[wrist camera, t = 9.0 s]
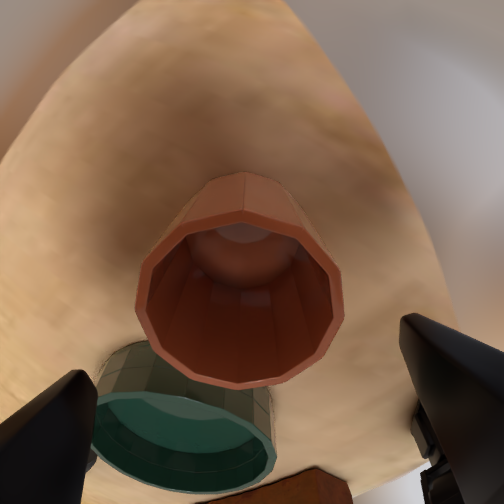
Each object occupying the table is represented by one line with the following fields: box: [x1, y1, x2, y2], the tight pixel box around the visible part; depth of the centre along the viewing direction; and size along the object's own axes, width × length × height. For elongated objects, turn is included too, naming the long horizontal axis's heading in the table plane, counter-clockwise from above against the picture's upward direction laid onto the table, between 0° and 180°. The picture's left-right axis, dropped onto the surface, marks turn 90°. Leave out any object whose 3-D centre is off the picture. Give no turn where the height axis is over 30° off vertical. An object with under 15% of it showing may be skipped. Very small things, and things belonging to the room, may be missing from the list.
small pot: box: [135, 172, 345, 390], centre depth 14 cm, size 7×7×8 cm
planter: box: [91, 341, 277, 494], centre depth 20 cm, size 14×14×5 cm
